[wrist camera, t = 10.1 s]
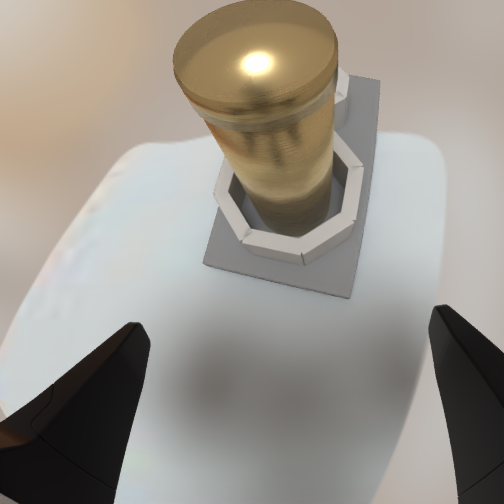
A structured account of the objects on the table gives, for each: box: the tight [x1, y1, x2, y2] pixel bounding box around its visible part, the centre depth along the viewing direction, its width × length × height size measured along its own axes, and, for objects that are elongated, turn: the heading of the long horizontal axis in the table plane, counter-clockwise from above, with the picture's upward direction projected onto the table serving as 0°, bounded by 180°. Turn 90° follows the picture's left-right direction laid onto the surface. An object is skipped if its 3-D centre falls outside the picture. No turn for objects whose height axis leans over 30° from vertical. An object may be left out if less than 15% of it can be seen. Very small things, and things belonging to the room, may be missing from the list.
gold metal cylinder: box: [173, 0, 338, 237], centre depth 13 cm, size 5×5×12 cm
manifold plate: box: [203, 67, 380, 299], centre depth 19 cm, size 16×9×4 cm, turn 165°
